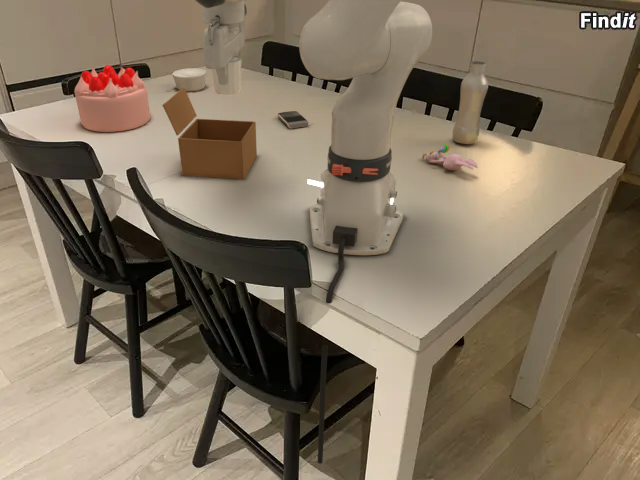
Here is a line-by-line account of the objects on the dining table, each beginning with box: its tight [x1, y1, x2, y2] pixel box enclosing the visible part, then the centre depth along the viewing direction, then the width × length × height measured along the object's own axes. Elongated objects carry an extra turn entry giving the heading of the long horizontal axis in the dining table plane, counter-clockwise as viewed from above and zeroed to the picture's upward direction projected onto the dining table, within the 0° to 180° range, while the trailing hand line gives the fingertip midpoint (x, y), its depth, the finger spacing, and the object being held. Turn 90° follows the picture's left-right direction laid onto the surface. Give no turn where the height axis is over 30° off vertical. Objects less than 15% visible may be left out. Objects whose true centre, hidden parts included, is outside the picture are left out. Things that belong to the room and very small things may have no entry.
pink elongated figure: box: [421, 143, 479, 171], centre depth 131 cm, size 6×6×15 cm
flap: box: [162, 87, 198, 136], centre depth 130 cm, size 14×7×1 cm
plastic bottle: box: [452, 60, 489, 145], centre depth 141 cm, size 6×7×20 cm
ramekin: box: [172, 67, 207, 93], centre depth 189 cm, size 11×11×5 cm
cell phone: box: [277, 110, 309, 130], centre depth 161 cm, size 6×11×1 cm, turn 18°
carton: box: [177, 118, 258, 180], centre depth 133 cm, size 14×15×9 cm
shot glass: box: [211, 55, 242, 96], centre depth 124 cm, size 7×7×7 cm
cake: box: [74, 64, 151, 133], centre depth 159 cm, size 20×20×14 cm
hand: (227, 79), depth 124 cm, fingers closed on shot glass, 5 cm apart
